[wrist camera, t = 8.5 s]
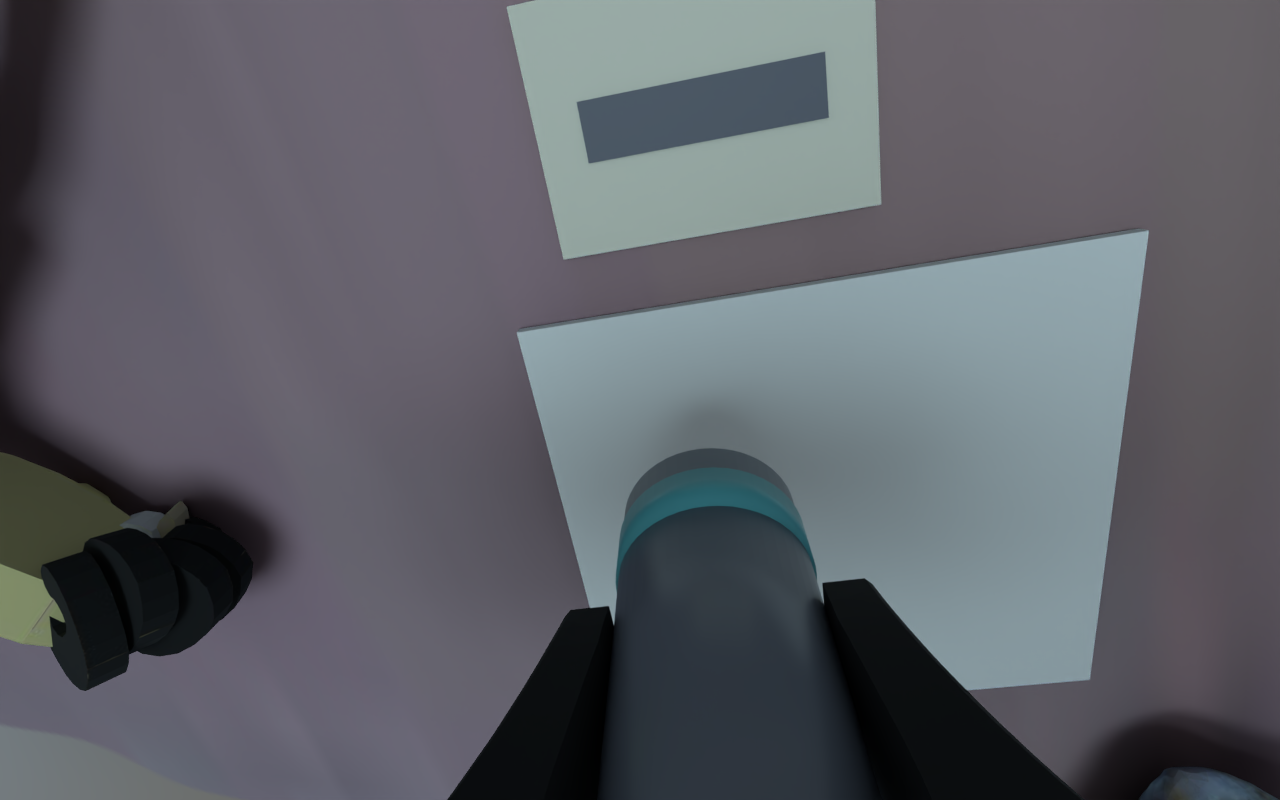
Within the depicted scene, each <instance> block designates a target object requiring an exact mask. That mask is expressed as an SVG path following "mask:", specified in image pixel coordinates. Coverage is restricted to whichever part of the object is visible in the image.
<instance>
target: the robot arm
mask: <svg viewBox="0 0 1280 800" xmlns="http://www.w3.org/2000/svg"><path fill="white" fill-rule="evenodd" d="M822 586H823V598H824V607H825V610H826V613H827V617H828V620H829V623H830V627H831V630H832V633H833V637H834V640H835V644H836V647H837V650H838V654H839V657H840V660H841V664H842V667H843V670H844V674H845V677H846V680H847V683H848V687H849V690H850V693H851V697H852V700H853V704H854V707H855V710H856V714H857V717H858V720H859V724H860V727H861V730H862V734H863V737H864V740H865V744H866V747H867V751H868V754H869V757H870V761H871V764H872V767H873V771H874V774H875V777H876V781H877V784H878V787H879V791H880V794H881V798H882V800H1084V799H1083V798H1082V797H1081V796H1079V795H1078V794H1077V793H1076V792H1075V791H1074V790H1073V789H1071V788H1070V787H1069V786H1068V785H1067V784H1066V783H1065V782H1063V781H1062V780H1061V779H1060V778H1059V777H1058V776H1057V775H1055V774H1054V773H1053V772H1052V771H1051V770H1050V769H1049V768H1048V767H1047V766H1045V765H1044V764H1043V763H1042V762H1041V761H1040V760H1039V759H1038V758H1036V757H1035V756H1034V755H1033V754H1032V753H1031V752H1030V751H1029V750H1028V749H1027V748H1026V747H1025V746H1024V745H1023V744H1021V743H1020V742H1019V741H1018V740H1017V739H1016V738H1015V737H1014V736H1013V735H1012V734H1011V733H1010V732H1009V731H1008V730H1006V729H1005V728H1004V727H1003V726H1002V725H1001V724H1000V723H999V722H998V721H997V720H996V719H995V718H994V717H993V716H992V715H991V714H990V713H989V712H988V711H987V710H986V709H985V708H984V707H983V706H982V705H981V704H980V703H979V702H978V701H977V700H976V699H975V698H974V697H973V696H972V695H971V694H970V693H969V692H968V691H967V690H966V689H965V688H964V687H963V686H962V685H961V684H960V683H959V682H958V681H957V680H956V679H955V678H954V677H953V676H952V675H951V674H950V673H949V672H948V670H947V669H946V668H945V667H944V666H943V665H942V664H941V663H940V662H939V661H938V660H937V659H936V658H935V657H934V656H933V655H932V654H931V652H930V651H929V650H928V649H927V648H926V647H925V646H924V645H923V644H922V643H921V641H920V640H919V639H918V638H917V637H916V636H915V635H914V634H913V632H912V631H911V630H910V629H909V628H908V627H907V626H906V624H905V623H904V622H903V621H902V620H901V619H900V617H899V616H898V615H897V614H896V613H895V612H894V610H893V609H892V608H891V607H890V606H889V604H888V603H887V602H886V601H885V599H884V598H883V597H882V596H881V594H880V593H879V592H878V591H877V589H876V588H875V587H874V585H873V584H872V583H870V582H869V581H868V580H866V579H865V578H862V579H853V580H844V581H834V582H825V583H822ZM613 630H614V624H613V620H612V616H611V612H610V608H609V606H603V607H594V608H585V609H576V610H570V611H569V613H568V614H567V615H566V616H565V618H564V620H563V621H562V623H561V625H560V627H559V628H558V630H557V632H556V634H555V635H554V637H553V639H552V641H551V642H550V644H549V646H548V647H547V649H546V651H545V653H544V654H543V656H542V658H541V659H540V661H539V663H538V664H537V666H536V668H535V669H534V671H533V673H532V674H531V676H530V678H529V679H528V681H527V683H526V684H525V686H524V688H523V689H522V691H521V692H520V694H519V695H518V697H517V699H516V700H515V702H514V703H513V705H512V706H511V708H510V709H509V711H508V713H507V714H506V716H505V717H504V719H503V720H502V722H501V724H500V725H499V727H498V728H497V730H496V731H495V733H494V734H493V736H492V737H491V739H490V740H489V742H488V743H487V745H486V746H485V747H484V749H483V750H482V752H481V753H480V754H479V756H478V757H477V759H476V760H475V762H474V763H473V764H472V766H471V767H470V769H469V770H468V771H467V773H466V774H465V776H464V777H463V779H462V780H461V781H460V783H459V784H458V786H457V787H456V788H455V790H454V791H453V793H452V794H451V795H450V797H449V798H448V799H447V800H597V794H598V784H599V774H600V763H601V753H602V743H603V732H604V722H605V712H606V702H607V691H608V681H609V671H610V660H611V650H612V640H613Z"/></svg>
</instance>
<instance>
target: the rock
mask: <svg viewBox="0 0 1280 800" xmlns="http://www.w3.org/2000/svg"><path fill="white" fill-rule="evenodd" d="M1138 800H1279V799H1277V798H1275V797H1273V796H1272V795H1270V794H1268V793H1267V792H1265V791H1263V790H1262V789H1260V788H1258V787H1256V786H1255V785H1253V784H1251V783H1250V782H1247V781H1244V780H1242V779H1239V778H1237V777H1235V776H1232V775H1230V774H1228V773H1225V772H1222V771H1218V770H1215V769H1211V768H1205V767H1171V768H1168V769H1164V771H1163V772H1162V773H1161V775H1160V776H1159V777H1158V778H1156V779H1155V780H1154V781H1153V782H1152V783H1151V784H1150V785H1149V787H1148V788H1147V789H1146V790H1145V791H1144V792H1143V793H1142V795H1141V796H1140V798H1139V799H1138Z"/></svg>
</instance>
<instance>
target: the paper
mask: <svg viewBox="0 0 1280 800" xmlns="http://www.w3.org/2000/svg"><path fill="white" fill-rule="evenodd" d="M1148 234H1149V230H1144V229H1140V228H1139V229H1133V230H1126V231H1120V232H1114V233H1108V234H1102V235H1096V236H1089V237H1083V238H1077V239H1071V240H1065V241H1059V242H1052V243H1046V244H1040V245H1034V246H1028V247H1022V248H1015V249H1009V250H1003V251H997V252H991V253H985V254H978V255H972V256H966V257H960V258H954V259H948V260H941V261H935V262H929V263H923V264H917V265H911V266H905V267H898V268H892V269H886V270H880V271H874V272H868V273H861V274H855V275H849V276H843V277H837V278H831V279H824V280H818V281H812V282H806V283H800V284H794V285H787V286H781V287H775V288H769V289H763V290H757V291H750V292H744V293H738V294H732V295H726V296H720V297H713V298H707V299H701V300H695V301H689V302H683V303H676V304H670V305H664V306H658V307H652V308H646V309H639V310H633V311H627V312H621V313H615V314H609V315H602V316H596V317H590V318H584V319H578V320H572V321H565V322H559V323H553V324H547V325H541V326H535V327H528V328H522V329H519V330H518V332H517V336H518V339H519V343H520V347H521V351H522V354H523V358H524V362H525V366H526V369H527V373H528V377H529V381H530V384H531V388H532V392H533V396H534V399H535V403H536V407H537V411H538V414H539V418H540V422H541V426H542V429H543V433H544V437H545V441H546V444H547V448H548V452H549V456H550V459H551V463H552V467H553V471H554V474H555V478H556V482H557V486H558V489H559V493H560V497H561V501H562V504H563V508H564V512H565V516H566V519H567V523H568V527H569V531H570V534H571V538H572V542H573V546H574V550H575V553H576V557H577V561H578V565H579V568H580V572H581V576H582V580H583V583H584V587H585V591H586V595H587V598H588V602H589V606H590V608H594V607H603V606H609V608H610V612H611V616H612V620H613V624H614V619H615V609H616V599H617V591H616V568H617V558H618V548H619V539H620V532H621V527H622V524H623V521H624V516H625V509H626V504H627V501H628V498H629V495H630V493H631V491H632V489H633V488H634V486H635V484H636V483H637V482H638V481H639V479H640V478H641V477H642V476H643V475H644V474H645V473H646V472H647V471H648V470H649V469H651V468H652V467H653V466H655V465H656V464H657V463H659V462H661V461H663V460H664V459H666V458H669V457H671V456H673V455H676V454H679V453H682V452H685V451H690V450H695V449H705V448H719V449H728V450H734V451H738V452H741V453H744V454H747V455H750V456H752V457H754V458H756V459H758V460H760V461H762V462H763V463H765V464H766V465H768V466H769V467H770V468H772V469H773V470H774V471H775V472H776V473H777V474H778V475H779V476H780V477H781V478H782V480H783V481H784V483H785V484H786V485H787V487H788V489H789V491H790V493H791V496H792V499H793V502H794V505H795V507H796V508H797V510H798V512H799V514H800V516H801V519H802V522H803V526H804V529H805V532H806V535H807V539H808V542H809V545H810V548H811V552H812V555H813V558H814V562H815V565H816V572H817V583H818V586H819V589H820V593H821V596H822V599H823V603H824V598H823V586H822V583H825V582H834V581H844V580H853V579H862V578H865V579H866V580H868V581H869V582H870V583H872V584H873V585H874V587H875V588H876V589H877V591H878V592H879V593H880V594H881V596H882V597H883V598H884V599H885V601H886V602H887V603H888V604H889V606H890V607H891V608H892V609H893V610H894V612H895V613H896V614H897V615H898V616H899V617H900V619H901V620H902V621H903V622H904V623H905V624H906V626H907V627H908V628H909V629H910V630H911V631H912V632H913V634H914V635H915V636H916V637H917V638H918V639H919V640H920V641H921V643H922V644H923V645H924V646H925V647H926V648H927V649H928V650H929V651H930V652H931V654H932V655H933V656H934V657H935V658H936V659H937V660H938V661H939V662H940V663H941V664H942V665H943V666H944V667H945V668H946V669H947V670H948V672H949V673H950V674H951V675H952V676H953V677H954V678H955V679H956V680H957V681H958V682H959V683H960V684H961V685H962V686H963V687H964V688H965V689H966V690H977V689H988V688H1000V687H1012V686H1023V685H1035V684H1046V683H1058V682H1070V681H1081V680H1090V674H1091V666H1092V659H1093V651H1094V643H1095V636H1096V628H1097V621H1098V613H1099V606H1100V598H1101V590H1102V583H1103V575H1104V568H1105V560H1106V552H1107V545H1108V537H1109V530H1110V522H1111V515H1112V507H1113V499H1114V492H1115V484H1116V477H1117V469H1118V461H1119V454H1120V446H1121V439H1122V431H1123V424H1124V416H1125V408H1126V401H1127V393H1128V386H1129V378H1130V370H1131V363H1132V355H1133V348H1134V340H1135V332H1136V325H1137V317H1138V310H1139V302H1140V295H1141V287H1142V279H1143V272H1144V264H1145V257H1146V249H1147V241H1148Z"/></svg>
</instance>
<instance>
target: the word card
mask: <svg viewBox="0 0 1280 800" xmlns="http://www.w3.org/2000/svg"><path fill="white" fill-rule="evenodd" d="M507 11H508V15H509V20H510V24H511V28H512V33H513V37H514V42H515V46H516V51H517V55H518V59H519V64H520V68H521V73H522V77H523V82H524V86H525V91H526V95H527V99H528V104H529V108H530V113H531V117H532V122H533V126H534V130H535V135H536V139H537V144H538V148H539V153H540V157H541V161H542V166H543V170H544V175H545V179H546V184H547V188H548V192H549V197H550V201H551V206H552V210H553V215H554V219H555V223H556V228H557V232H558V237H559V241H560V246H561V250H562V255H563V259H564V260H565V259H571V258H576V257H582V256H588V255H594V254H599V253H605V252H611V251H617V250H622V249H628V248H634V247H640V246H645V245H651V244H657V243H663V242H668V241H674V240H680V239H686V238H691V237H697V236H703V235H709V234H714V233H720V232H726V231H732V230H737V229H743V228H749V227H755V226H760V225H766V224H772V223H778V222H783V221H789V220H795V219H801V218H806V217H812V216H818V215H824V214H829V213H835V212H841V211H847V210H852V209H858V208H864V207H870V206H875V205H881V179H880V145H879V111H878V77H877V43H876V9H875V0H535V1H530V2H526V3H521V4H517V5H513V6H508V7H507Z"/></svg>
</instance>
